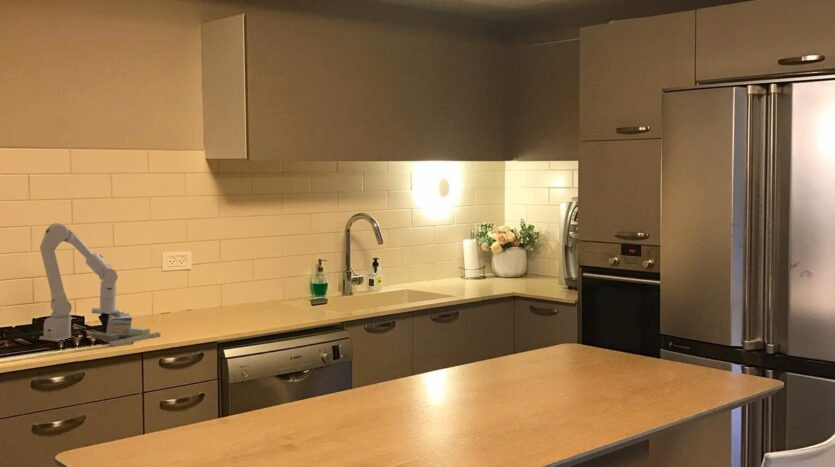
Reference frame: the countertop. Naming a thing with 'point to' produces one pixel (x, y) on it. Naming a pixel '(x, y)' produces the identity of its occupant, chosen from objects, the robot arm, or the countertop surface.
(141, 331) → the mounted modules
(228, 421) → the countertop surface
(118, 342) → the din rail
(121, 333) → the medicine box
